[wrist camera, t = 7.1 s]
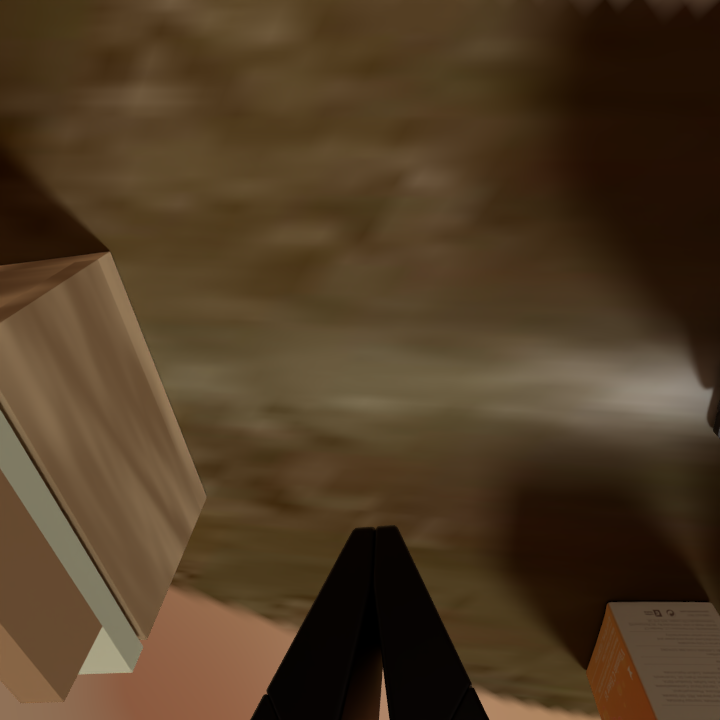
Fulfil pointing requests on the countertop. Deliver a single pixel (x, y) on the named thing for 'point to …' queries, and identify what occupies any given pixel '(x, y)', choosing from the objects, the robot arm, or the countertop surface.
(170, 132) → the countertop surface
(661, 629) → the small box
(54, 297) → the box
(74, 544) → the lid
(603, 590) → the countertop surface
